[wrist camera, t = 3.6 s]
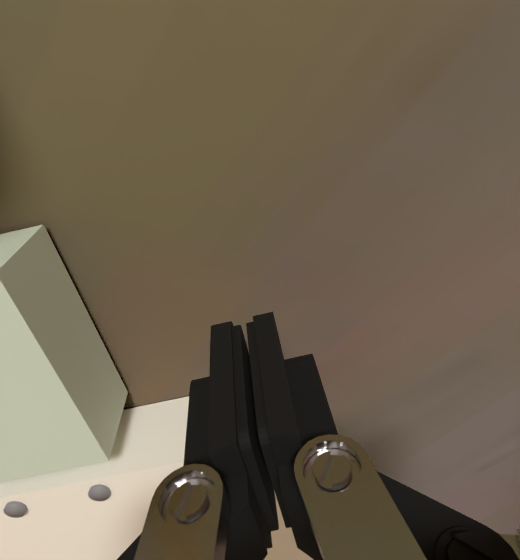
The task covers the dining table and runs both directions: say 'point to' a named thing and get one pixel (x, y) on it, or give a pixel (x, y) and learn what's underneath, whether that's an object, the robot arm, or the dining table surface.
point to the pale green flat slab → (50, 366)
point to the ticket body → (106, 495)
